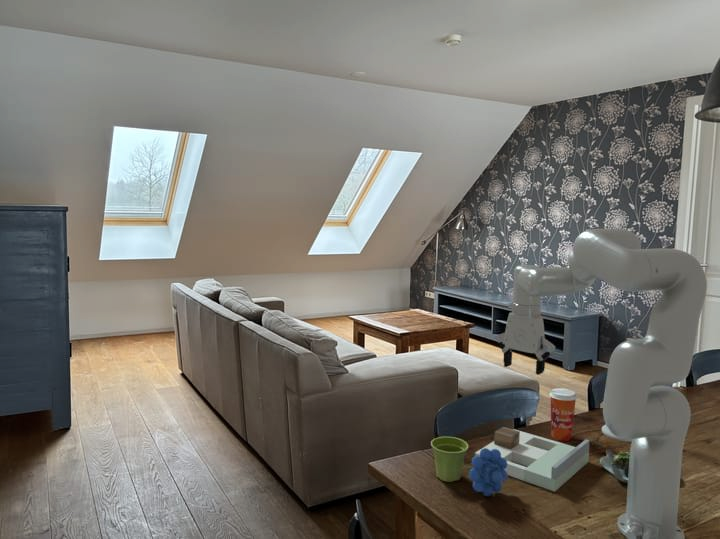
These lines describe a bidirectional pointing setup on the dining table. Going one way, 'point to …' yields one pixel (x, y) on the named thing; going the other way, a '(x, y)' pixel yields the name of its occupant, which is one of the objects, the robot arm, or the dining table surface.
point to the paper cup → (562, 413)
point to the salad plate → (617, 465)
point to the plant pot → (449, 457)
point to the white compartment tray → (542, 460)
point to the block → (506, 437)
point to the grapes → (488, 471)
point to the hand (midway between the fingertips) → (523, 369)
